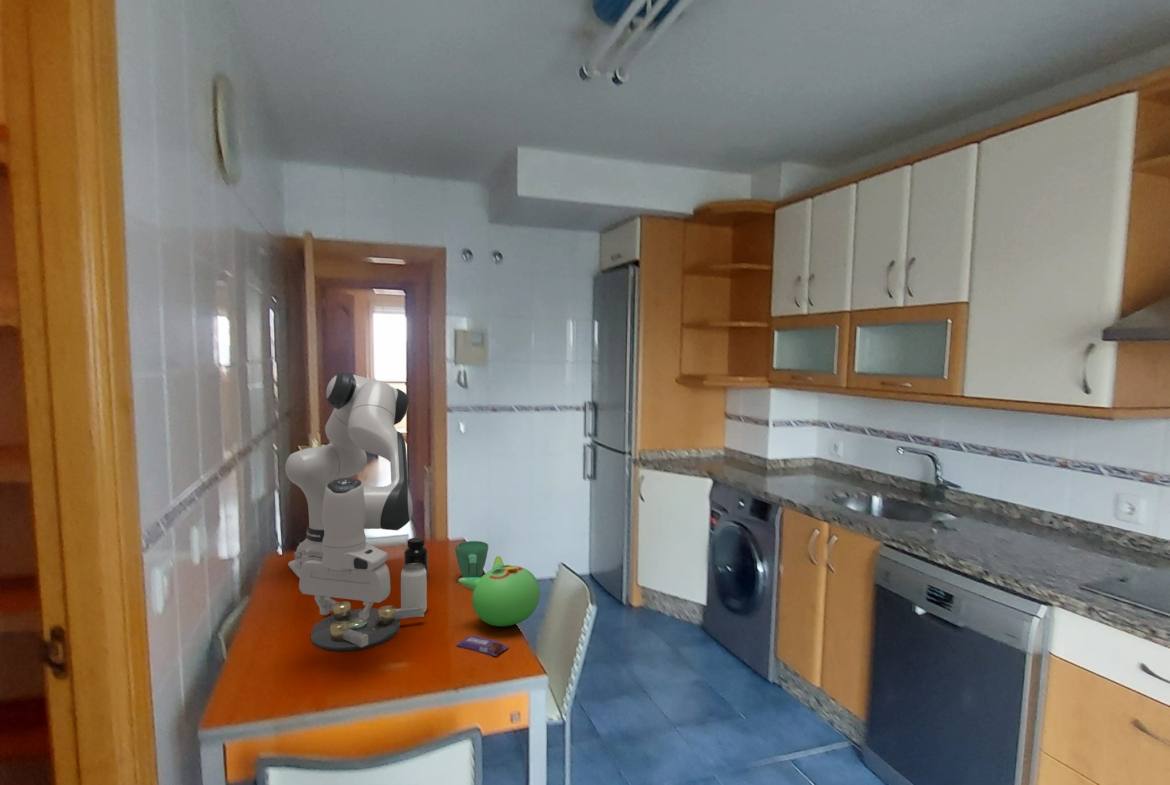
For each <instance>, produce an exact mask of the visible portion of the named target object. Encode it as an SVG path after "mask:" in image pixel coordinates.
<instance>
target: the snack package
mask: <svg viewBox="0 0 1170 785" xmlns="http://www.w3.org/2000/svg"><path fill="white" fill-rule="evenodd" d="M455 646H457V647H460V648H463V649H466V650H471V651H474V652H477V653H479V654H480V653H481V654H484V655H488V656H490V657H491V656H492V657H494V656H495V657H498V656H499V655H500V654H501V653H503V652H504V651H506V650H507V649H509V646H507V645H505V644H503V642H500V641H497V640H494V639H489V638H484V637H481V636H477V635H472V636H467V637H465V638H464V639H462V640H461V641H459V642H458V643H455Z"/></svg>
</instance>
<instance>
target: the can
mask: <svg viewBox="0 0 1170 785" xmlns="http://www.w3.org/2000/svg"><path fill="white" fill-rule="evenodd" d="M427 579H428V577H426V570H425V565H424V564H420V563H412V564H407V565H405V566H404V565H403V566H402V570H401V573H400V609H401V608H409V607H418V606H420V605H424V613H425V612H426V611H427V608H428V606H427V605H428V604H427V603H428V602H427V601H428V600H427V598H428V597H427V596H428V595H427V592H428V591H427V585H428V584H427V583H428V582H427V581H428V580H427Z"/></svg>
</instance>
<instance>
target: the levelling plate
mask: <svg viewBox="0 0 1170 785" xmlns="http://www.w3.org/2000/svg"><path fill="white" fill-rule="evenodd" d="M362 609H363V608H357V609H351V616H350V617H349V618H347V619H343V620H336V619H334V614H332V615H329V616H327V617H325V618H323V619H321V620H320V621H318V622H317V623H316V624H315V625H314V626H312V628H311V635H310V636H311V642H312V644H313V645H314V646H315V647H317V648H318V649H321V650H324V651H329V652H336V653H337V652H340V653H342V652H354V651H360V650H361V651H362V650H366V649H369V648H374V647H376V646H379V645H382V644H384V643H386V642H388V641H389V640H391V639H393V638H394V637H395V636H397V634H398V633H399V631H400V628H401V619H395V622H393V623H390V624H380V623H379V622H378V609H379V608H370V610H369V618H368V619H367V620H360V619H359V612H360V611H362ZM338 621H347V622H348V623H349V629H351V630H354V631H357V632H359V633H362V634H367V635H368V645H366V646H364V647H359V645H357V644H354V643H351V642H349V641H346V640H343V641H332V640H331V639H330V625H331V624H332V623H335V622H338Z"/></svg>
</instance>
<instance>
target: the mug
mask: <svg viewBox="0 0 1170 785" xmlns="http://www.w3.org/2000/svg"><path fill="white" fill-rule="evenodd" d="M454 550H455V557H456V559H457V564H458V567H459V571H460V573H461V576H462V578H467V577H482V574H483V571H484V569H485V568H484V567H485V565H486V562H487V561H486V560H487V558H488V551H489V544H488V543H486V542H484V541H479V540H478V541H477V540H470V541H469V540H468V541H463V542H460V543H459V544H456V545H455V546H454Z"/></svg>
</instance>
